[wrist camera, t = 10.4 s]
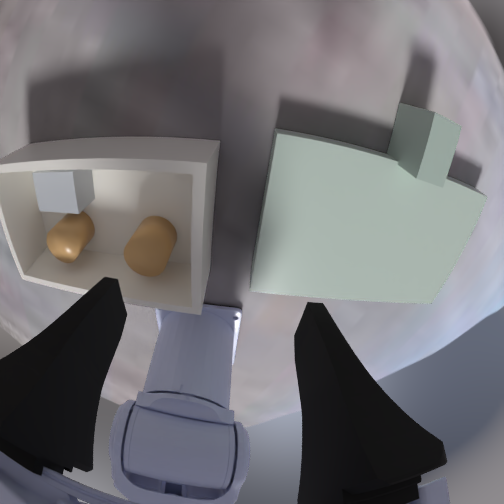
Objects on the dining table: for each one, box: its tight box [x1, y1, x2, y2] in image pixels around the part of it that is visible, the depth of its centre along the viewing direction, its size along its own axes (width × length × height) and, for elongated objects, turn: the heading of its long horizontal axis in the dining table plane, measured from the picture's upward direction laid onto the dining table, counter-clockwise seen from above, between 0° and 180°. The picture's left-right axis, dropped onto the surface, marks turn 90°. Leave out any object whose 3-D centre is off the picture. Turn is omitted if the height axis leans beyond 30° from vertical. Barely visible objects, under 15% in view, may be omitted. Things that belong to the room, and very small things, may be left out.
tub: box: [0, 137, 220, 315], centre depth 16 cm, size 10×16×5 cm, turn 83°
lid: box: [250, 103, 487, 304], centre depth 16 cm, size 15×18×4 cm
